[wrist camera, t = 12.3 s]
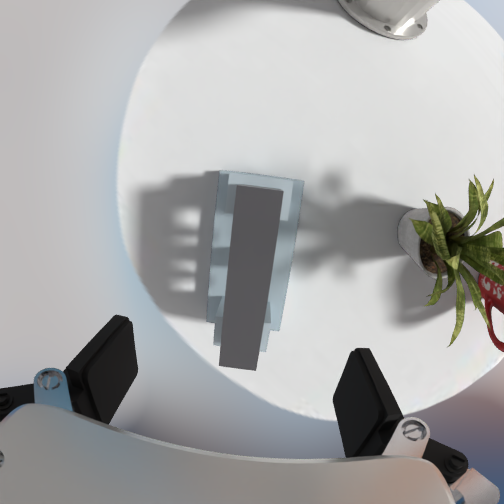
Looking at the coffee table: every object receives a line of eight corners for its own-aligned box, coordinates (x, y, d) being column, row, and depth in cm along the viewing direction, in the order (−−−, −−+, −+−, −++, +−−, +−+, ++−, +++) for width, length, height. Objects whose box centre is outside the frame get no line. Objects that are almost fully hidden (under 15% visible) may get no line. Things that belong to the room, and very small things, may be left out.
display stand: (222, 170, 27) (208, 167, 20) (302, 180, 27) (314, 181, 20) (208, 315, 31) (195, 349, 24) (278, 324, 31) (281, 361, 24)
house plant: (454, 154, 25) (558, 155, 9) (468, 260, 28) (554, 309, 12) (356, 178, 26) (455, 184, 10) (380, 296, 29) (453, 385, 14)
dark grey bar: (241, 184, 21) (236, 185, 17) (280, 188, 21) (283, 191, 17) (225, 339, 25) (219, 365, 21) (257, 343, 25) (255, 370, 21)
